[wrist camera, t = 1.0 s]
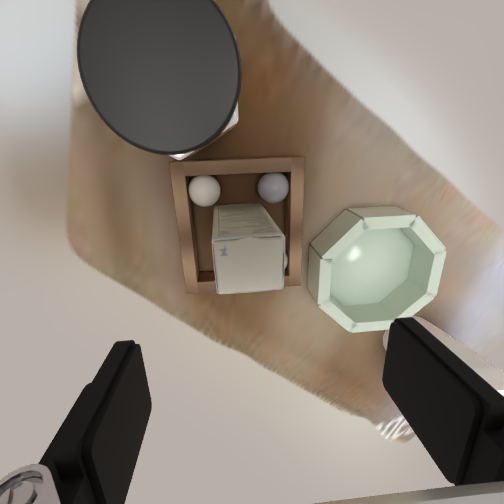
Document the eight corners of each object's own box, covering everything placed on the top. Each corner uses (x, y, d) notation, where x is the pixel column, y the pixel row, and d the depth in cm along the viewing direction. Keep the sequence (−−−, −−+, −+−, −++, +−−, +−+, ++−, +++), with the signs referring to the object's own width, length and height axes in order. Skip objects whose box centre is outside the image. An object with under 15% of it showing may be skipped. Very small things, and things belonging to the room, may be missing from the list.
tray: (174, 160, 27) (169, 162, 25) (298, 155, 28) (304, 157, 26) (189, 282, 32) (186, 293, 29) (295, 275, 33) (300, 285, 30)
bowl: (310, 210, 30) (322, 219, 26) (427, 204, 31) (455, 212, 27) (306, 314, 35) (315, 335, 31) (407, 306, 36) (429, 325, 32)
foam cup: (423, 366, 40) (509, 465, 28) (361, 361, 38) (424, 462, 26) (451, 308, 36) (564, 391, 24) (385, 300, 35) (470, 384, 23)
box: (216, 243, 30) (212, 296, 20) (213, 204, 29) (206, 238, 19) (265, 241, 31) (285, 291, 21) (264, 201, 29) (286, 234, 19)
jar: (255, 83, 25) (278, 39, 14) (214, 167, 28) (207, 185, 16) (159, 21, 23) (98, -90, 12) (123, 117, 25) (44, 99, 14)
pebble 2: (255, 170, 28) (259, 173, 25) (285, 169, 28) (292, 172, 25) (256, 200, 29) (259, 206, 26) (285, 199, 29) (291, 205, 27)
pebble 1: (188, 173, 28) (184, 176, 25) (219, 171, 28) (219, 175, 25) (191, 203, 29) (188, 210, 26) (221, 202, 29) (221, 208, 26)
